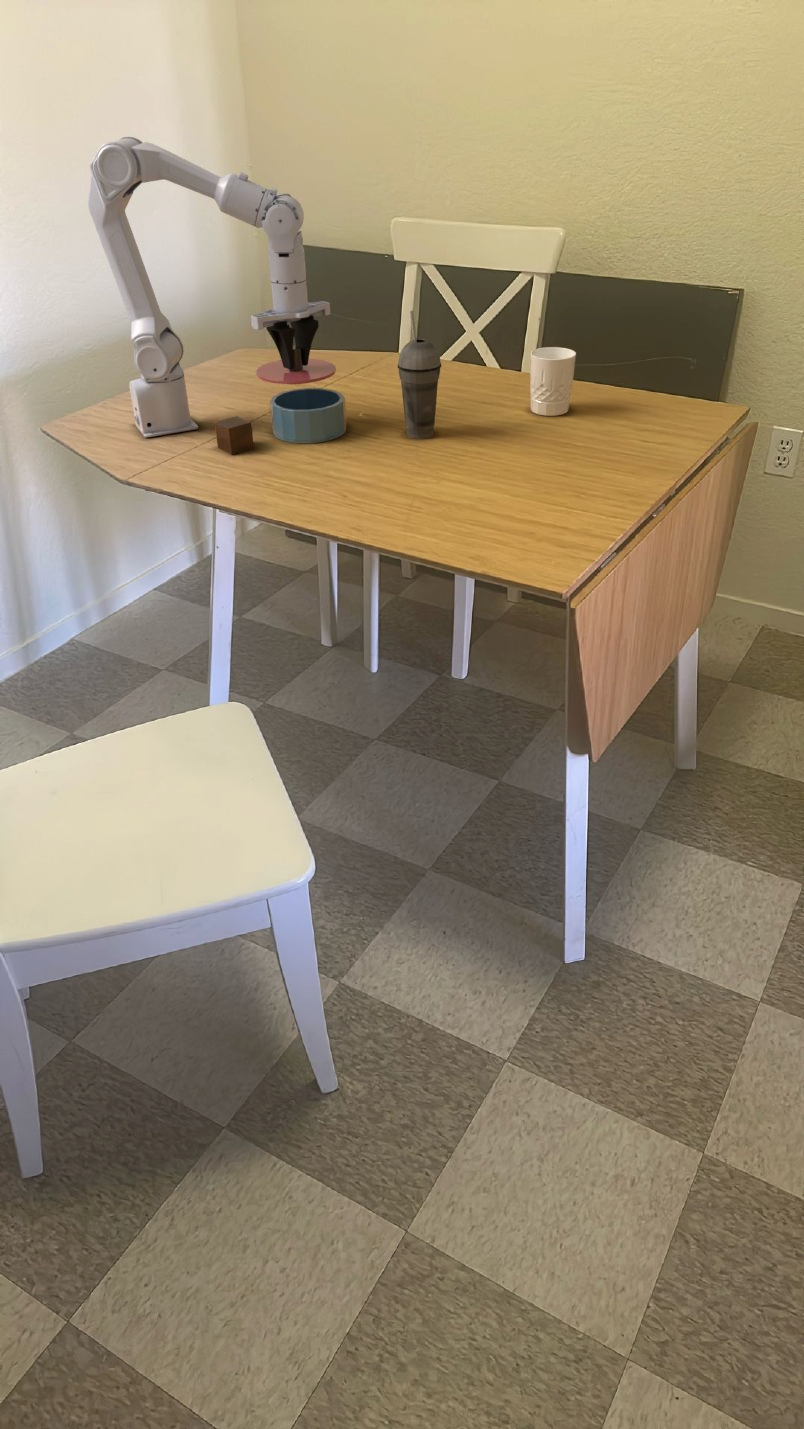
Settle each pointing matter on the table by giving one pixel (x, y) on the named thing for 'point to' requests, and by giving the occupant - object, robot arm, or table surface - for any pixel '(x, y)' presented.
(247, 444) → the block
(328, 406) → the bowl
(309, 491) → the table surface
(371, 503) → the table surface
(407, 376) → the beverage cup
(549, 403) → the white cup
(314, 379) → the lid
